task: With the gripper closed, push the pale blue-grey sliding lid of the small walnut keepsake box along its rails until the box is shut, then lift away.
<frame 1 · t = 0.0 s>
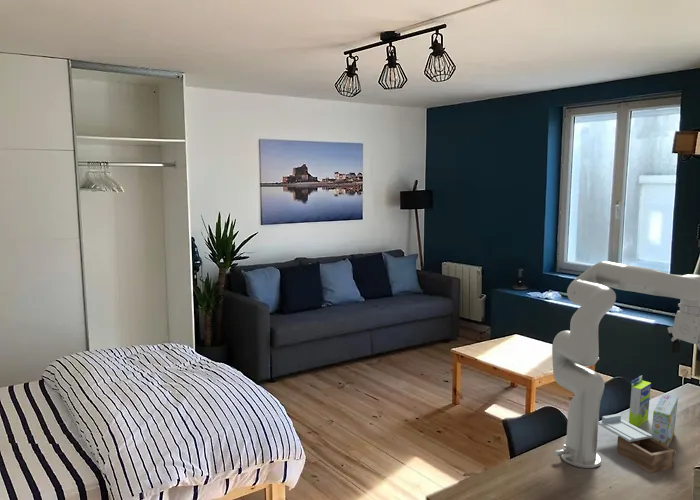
hand: (687, 356, 197), 31 cm above the table, tool pointing down, fingers open, 9 cm apart
snack box: (662, 443, 199), on the table
lid: (624, 427, 194), point 8 cm above the table, slide at 9.0 cm
box: (638, 422, 215), on the table
keepsake box: (644, 460, 186), on the table
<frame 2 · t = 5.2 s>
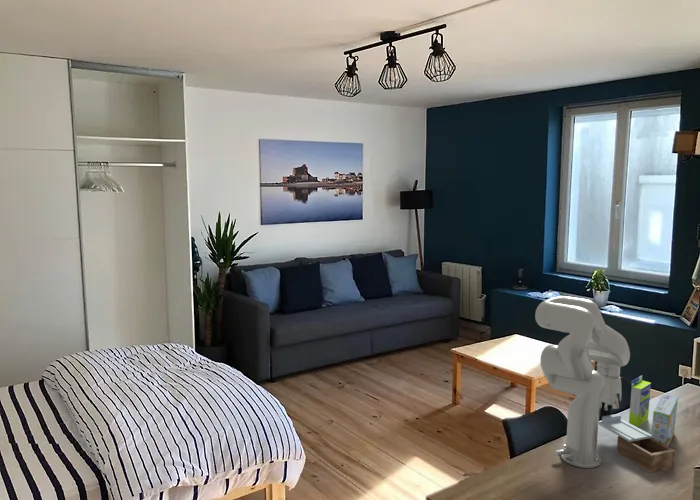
hand: (604, 419, 202), 7 cm above the table, tool pointing down, fingers closed
lid: (625, 427, 194), point 8 cm above the table, slide at 9.0 cm, touching gripper
everything else where it was.
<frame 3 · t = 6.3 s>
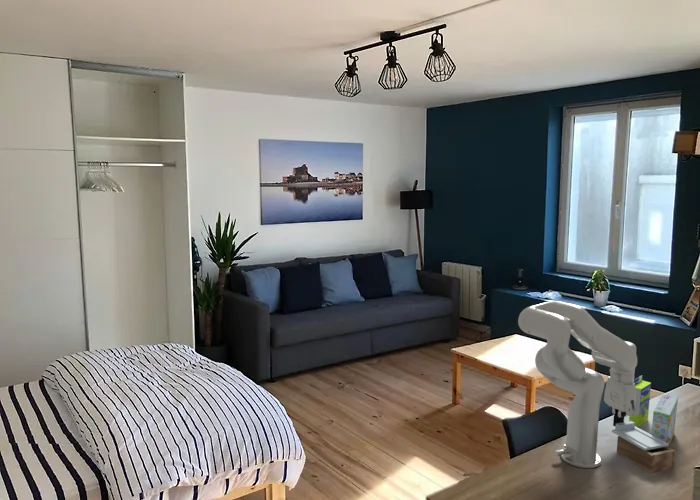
hand: (618, 426, 196), 7 cm above the table, tool pointing down, fingers closed
lid: (639, 434, 188), point 8 cm above the table, slide at 2.7 cm, touching gripper
everything else where it was.
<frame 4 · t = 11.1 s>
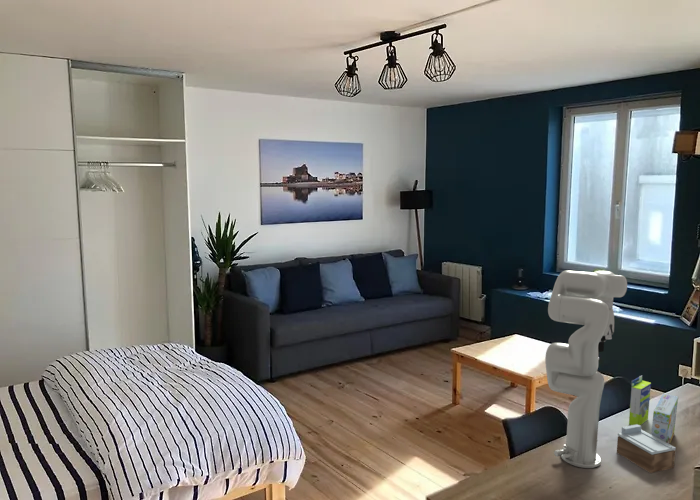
hand: (598, 351, 209), 29 cm above the table, tool pointing down, fingers closed
lid: (646, 438, 185), point 8 cm above the table, slide at 0.0 cm
everything else where it was.
at the end: lid slide at 0.0 cm; lid touching nothing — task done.
